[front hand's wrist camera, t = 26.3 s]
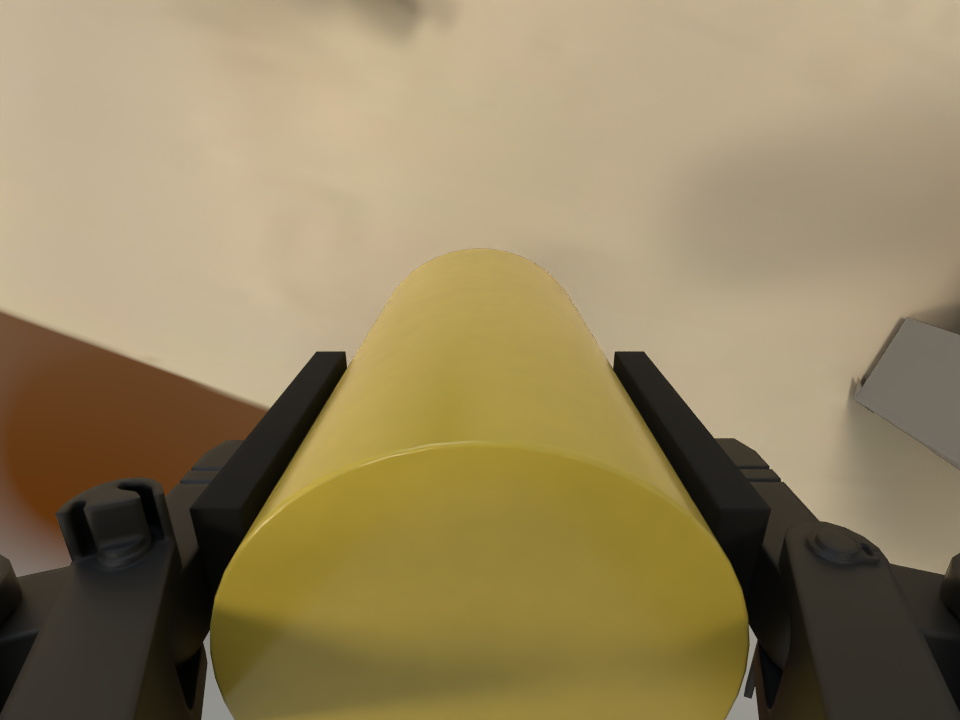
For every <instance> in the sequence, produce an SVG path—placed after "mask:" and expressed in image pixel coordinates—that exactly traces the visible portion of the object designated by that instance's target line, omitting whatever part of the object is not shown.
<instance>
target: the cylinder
mask: <svg viewBox="0 0 960 720" xmlns="http://www.w3.org/2000/svg"><path fill="white" fill-rule="evenodd" d="M748 652H749V623H748V613H747V608H746V604H745V600H744V595H743V591H742V588H741V585H740V583H739V581H738V579H737V576H736V574H735V572H734V569H733V567H732V565H731V563H730V561H729V559H728V558H727V556H726V554H725V553H724V551H723V549H722V548H721V546H720V544H719V543H718V541H717V540H716V538H715V536H714V535H713V533H712V531H711V530H710V528H709V526H708V525H707V523H706V521H705V520H704V518H703V516H702V515H701V513H700V512H699V510H698V508H697V507H696V505H695V503H694V502H693V500H692V498H691V497H690V495H689V493H688V492H687V490H686V489H685V487H684V485H683V484H682V482H681V480H680V479H679V477H678V475H677V474H676V472H675V470H674V469H673V467H672V465H671V464H670V462H669V461H668V459H667V457H666V456H665V454H664V452H663V451H662V449H661V447H660V446H659V444H658V442H657V441H656V439H655V437H654V436H653V434H652V433H651V431H650V429H649V428H648V426H647V424H646V423H645V421H644V419H643V418H642V416H641V414H640V413H639V411H638V409H637V408H636V406H635V405H634V403H633V401H632V400H631V398H630V396H629V395H628V393H627V391H626V390H625V388H624V386H623V385H622V383H621V382H620V380H619V378H618V377H617V375H616V373H615V372H614V370H613V368H612V367H611V365H610V363H609V362H608V360H607V358H606V357H605V355H604V354H603V352H602V350H601V349H600V347H599V345H598V344H597V342H596V340H595V339H594V337H593V335H592V334H591V332H590V330H589V329H588V327H587V326H586V324H585V322H584V321H583V319H582V317H581V316H580V314H579V312H578V311H577V309H576V307H575V306H574V304H573V302H572V301H571V299H570V298H569V296H568V295H567V293H566V292H565V290H564V289H563V288H562V286H561V285H560V284H559V283H558V282H557V281H556V280H555V279H554V278H553V277H552V276H551V275H550V274H549V273H548V272H546V271H545V270H544V269H542V268H541V267H539V266H538V265H536V264H535V263H533V262H531V261H529V260H527V259H525V258H523V257H521V256H518V255H515V254H512V253H509V252H505V251H500V250H494V249H478V248H477V249H466V250H460V251H455V252H451V253H447V254H444V255H442V256H439V257H436V258H434V259H432V260H430V261H428V262H427V263H425V264H423V265H421V266H420V267H419V268H417V269H416V270H414V271H413V272H412V273H411V274H410V275H408V276H407V277H406V278H405V279H404V280H403V281H402V282H401V283H400V285H399V286H398V287H397V288H396V290H395V291H394V292H393V294H392V295H391V297H390V299H389V300H388V302H387V304H386V305H385V307H384V308H383V310H382V312H381V313H380V315H379V317H378V318H377V320H376V322H375V323H374V325H373V327H372V328H371V330H370V332H369V333H368V335H367V336H366V338H365V340H364V341H363V343H362V345H361V346H360V348H359V350H358V351H357V353H356V355H355V356H354V358H353V360H352V361H351V363H350V364H349V366H348V368H347V369H346V371H345V373H344V374H343V376H342V378H341V379H340V381H339V383H338V384H337V386H336V387H335V389H334V391H333V392H332V394H331V396H330V397H329V399H328V401H327V402H326V404H325V406H324V407H323V409H322V411H321V412H320V414H319V415H318V417H317V419H316V420H315V422H314V424H313V425H312V427H311V429H310V430H309V432H308V434H307V435H306V437H305V439H304V440H303V442H302V443H301V445H300V447H299V448H298V450H297V452H296V453H295V455H294V457H293V458H292V460H291V462H290V463H289V465H288V467H287V468H286V470H285V471H284V473H283V475H282V476H281V478H280V480H279V481H278V483H277V485H276V486H275V488H274V490H273V491H272V493H271V494H270V496H269V498H268V499H267V501H266V503H265V504H264V506H263V508H262V509H261V511H260V513H259V514H258V516H257V518H256V519H255V521H254V522H253V524H252V526H251V527H250V529H249V531H248V532H247V534H246V536H245V537H244V539H243V541H242V542H241V544H240V546H239V547H238V549H237V551H236V552H235V554H234V556H233V557H232V559H231V561H230V563H229V564H228V566H227V568H226V569H225V571H224V574H223V577H222V579H221V582H220V585H219V587H218V590H217V593H216V595H215V599H214V605H213V611H212V616H211V622H210V654H211V659H212V664H213V669H214V674H215V679H216V681H217V684H218V687H219V689H220V692H221V694H222V697H223V700H224V702H225V704H226V706H227V707H228V709H229V711H230V713H231V714H232V716H233V718H234V720H725V719H726V717H727V715H728V713H729V712H730V710H731V708H732V706H733V704H734V702H735V700H736V698H737V696H738V693H739V691H740V687H741V684H742V681H743V678H744V675H745V672H746V667H747V659H748Z"/></svg>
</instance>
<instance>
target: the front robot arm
mask: <svg viewBox="0 0 960 720" xmlns="http://www.w3.org/2000/svg"><path fill="white" fill-rule="evenodd" d="M346 369H347V363H346V353H345V352H316V353H315V354H314V355H313V357H312V358H311V359H310V360H309V362H308V363H307V364H306V365H305V366H304V368H303V369H302V370H301V371H300V373H299V374H298V375H297V376H296V378H295V379H294V380H293V381H292V382H291V384H290V385H289V386H288V387H287V389H286V390H285V391H284V392H283V394H282V395H281V396H280V397H279V399H278V400H277V401H276V402H275V403H274V405H273V406H272V407H271V408H270V410H269V411H268V412H267V413H266V415H265V416H264V417H263V418H262V420H261V421H260V422H259V423H258V424H257V426H256V427H255V428H254V429H253V431H252V432H251V433H250V434H249V436H248V437H247V438H246V439H245V440H226V441H224V442H223V443H221V444H219V445H218V446H216V447H214V448H213V449H211V450H209V451H208V452H206V453H205V454H204V455H203V456H202V457H201V458H200V459H199V460H198V462H197V463H196V464H195V465H194V466H193V467H192V470H191V471H189V472H188V473H187V474H186V475H185V476H184V477H183V478H182V479H181V480H180V484H177V485H176V486H175V487H174V488H173V489H172V490H171V491H170V492H169V494H168V495H167V496H166V497H165V495H164V491H163V488H162V485H161V484H160V483H158V482H157V481H155V480H154V479H148V478H141V477H136V478H125V479H119V480H115V481H111V482H107V483H103V484H100V485H98V486H95V487H93V488H91V489H88V490H86V491H84V492H81V493H80V494H78V495H77V496H75V497H74V498H72V499H71V500H69V501H67V502H66V503H65V504H64V505H63V506H62V507H61V508H60V509H59V511H58V512H57V513H56V517H57V520H58V523H59V526H60V528H61V531H62V534H63V537H64V540H65V542H66V545H67V548H68V551H69V554H70V556H71V559H72V562H71V564H70V566H67V567H64V568H59V569H54V570H49V571H45V572H40V573H35V574H30V575H26V576H21V577H16V575H15V573H14V570H13V568H12V565H11V563H10V561H9V560H8V559H7V558H5V557H4V556H2V555H0V720H201V716H202V707H203V698H204V689H205V680H206V671H207V658H206V652H205V648H204V644H203V641H204V639H205V637H206V636H207V634H208V632H209V630H210V622H211V616H212V611H213V605H214V599H215V595H216V593H217V590H218V587H219V585H220V582H221V579H222V577H223V574H224V571H225V569H226V568H227V566H228V564H229V563H230V561H231V559H232V557H233V556H234V554H235V552H236V551H237V549H238V547H239V546H240V544H241V542H242V541H243V539H244V537H245V536H246V534H247V532H248V531H249V529H250V527H251V526H252V524H253V522H254V521H255V519H256V518H257V516H258V514H259V513H260V511H261V509H262V508H263V506H264V504H265V503H266V501H267V499H268V498H269V496H270V494H271V493H272V491H273V490H274V488H275V486H276V485H277V483H278V481H279V480H280V478H281V476H282V475H283V473H284V471H285V470H286V468H287V467H288V465H289V463H290V462H291V460H292V458H293V457H294V455H295V453H296V452H297V450H298V448H299V447H300V445H301V443H302V442H303V440H304V439H305V437H306V435H307V434H308V432H309V430H310V429H311V427H312V425H313V424H314V422H315V420H316V419H317V417H318V415H319V414H320V412H321V411H322V409H323V407H324V406H325V404H326V402H327V401H328V399H329V397H330V396H331V394H332V392H333V391H334V389H335V387H336V386H337V384H338V383H339V381H340V379H341V378H342V376H343V374H344V373H345V371H346ZM613 370H614V372H615V373H616V375H617V377H618V378H619V380H620V382H621V383H622V385H623V386H624V388H625V390H626V391H627V393H628V395H629V396H630V398H631V400H632V401H633V403H634V405H635V406H636V408H637V409H638V411H639V413H640V414H641V416H642V418H643V419H644V421H645V423H646V424H647V426H648V428H649V429H650V431H651V433H652V434H653V436H654V437H655V439H656V441H657V442H658V444H659V446H660V447H661V449H662V451H663V452H664V454H665V456H666V457H667V459H668V461H669V462H670V464H671V465H672V467H673V469H674V470H675V472H676V474H677V475H678V477H679V479H680V480H681V482H682V484H683V485H684V487H685V489H686V490H687V492H688V493H689V495H690V497H691V498H692V500H693V502H694V503H695V505H696V507H697V508H698V510H699V512H700V513H701V515H702V516H703V518H704V520H705V521H706V523H707V525H708V526H709V528H710V530H711V531H712V533H713V535H714V536H715V538H716V540H717V541H718V543H719V544H720V546H721V548H722V549H723V551H724V553H725V554H726V556H727V558H728V559H729V561H730V563H731V565H732V567H733V569H734V572H735V574H736V576H737V579H738V581H739V583H740V585H741V588H742V591H743V595H744V600H745V604H746V608H747V613H748V623H749V625H750V627H751V629H752V630H753V632H754V634H755V636H756V637H757V639H758V640H757V644H756V648H755V652H754V656H753V660H752V663H751V667H750V671H749V675H748V679H747V682H746V687H745V693H744V696H745V697H748V698H752V695H753V691H754V687H756V696H757V705H758V714H759V720H960V553H959V554H957V555H956V556H954V557H953V558H952V560H951V562H950V564H949V567H948V569H947V572H946V574H945V575H941V574H937V573H932V572H927V571H922V570H917V569H913V568H908V567H903V566H898V565H894V564H891V563H889V561H888V560H887V558H886V557H885V556H884V554H883V553H882V552H881V550H880V549H879V548H878V547H877V546H875V545H874V544H873V543H871V542H870V541H869V540H867V539H866V538H865V537H863V536H861V535H859V534H857V533H855V532H853V531H851V530H849V529H847V528H844V527H841V526H838V525H834V524H831V523H828V522H821V521H819V520H818V519H817V518H816V517H815V516H814V515H813V514H812V513H811V511H810V510H809V509H808V508H807V507H806V506H805V505H804V504H803V503H802V502H801V500H800V499H799V498H798V497H797V496H796V495H795V494H794V493H793V492H792V491H791V490H790V488H789V487H788V486H787V485H786V484H785V483H784V482H781V479H780V478H779V476H778V475H777V474H776V473H775V472H774V471H773V470H772V469H769V465H768V464H767V463H766V462H765V461H764V460H763V459H762V458H761V457H760V456H759V455H758V453H757V452H756V451H754V450H753V449H751V448H749V447H748V446H746V445H744V444H743V443H741V442H739V441H738V440H736V439H734V438H713V436H712V435H711V434H710V433H709V431H708V430H707V429H706V428H705V426H704V425H703V424H702V423H701V422H700V420H699V419H698V418H697V417H696V415H695V414H694V413H693V412H692V410H691V409H690V408H689V407H688V405H687V404H686V403H685V402H684V401H683V399H682V398H681V397H680V396H679V394H678V393H677V392H676V391H675V389H674V388H673V387H672V386H671V385H670V383H669V382H668V381H667V380H666V378H665V377H664V376H663V375H662V373H661V372H660V371H659V370H658V369H657V367H656V366H655V365H654V364H653V362H652V361H651V360H650V359H649V357H648V356H647V355H646V354H645V352H615V356H614V366H613Z"/></svg>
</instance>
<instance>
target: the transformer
mask: <svg viewBox="0 0 960 720" xmlns="http://www.w3.org/2000/svg"><path fill="white" fill-rule="evenodd" d="M854 400H856V401H857V402H859V403H860V404H861V405H863V406H864V407H866V408H867V409H869V410H870V411H872V412H873V413H876V414H877V415H879V416H880V417H882V418H883V419H885V420H887V421H888V422H890V423H891V424H893V425H894V426H896V427H897V428H899V429H900V430H902V431H903V432H905V433H907V434H908V435H910V436H911V437H913V438H914V439H916V440H917V441H919V442H920V443H922V444H923V445H925V446H926V447H928V448H929V449H931V450H932V451H933V452H934V453H936V454H937V455H938V456H940V457H941V458H943V459H944V460H946V461H947V462H949V463H950V464H952V465H953V466H955V467H956V468H958V469H959V470H960V335H959V334H956V333H953V332H950V331H947V330H944V329H941V328H938V327H935V326H932V325H929V324H926V323H923V322H920V321H917V320H914V319H911V318H908V317H907V318H906V320H905V321H904V323H903V324H902V326H901V327H900V329H899V330H898V332H897V334H896V335H895V337H894V338H893V340H892V341H891V343H890V344H889V346H888V348H887V349H886V351H885V352H884V354H883V355H882V357H881V359H880V360H879V362H878V363H877V365H876V366H875V368H874V369H873V371H872V373H871V374H870V376H869V377H868V379H867V380H866V382H865V383H864V385H863V386H861V383H860V380H859V377H858V380H857V385H856V390H855V394H854Z"/></svg>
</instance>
